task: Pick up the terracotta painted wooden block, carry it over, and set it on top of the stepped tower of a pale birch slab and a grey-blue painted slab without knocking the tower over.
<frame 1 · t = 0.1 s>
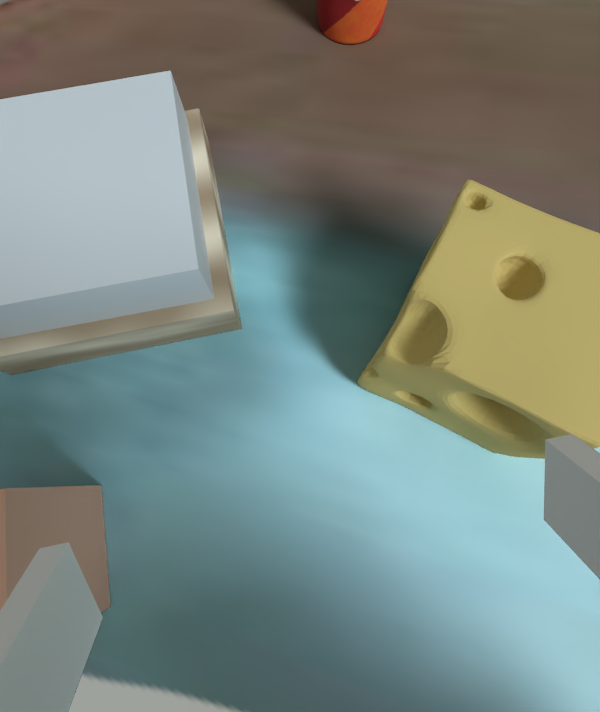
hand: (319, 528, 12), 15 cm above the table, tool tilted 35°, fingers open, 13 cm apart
terracotta block: (49, 555, 26), on the table
tower top: (96, 223, 29), point 3 cm above the table, touching tower base
cheese: (457, 356, 29), on the table
tower base: (121, 254, 32), on the table, touching tower top
paper cup: (350, 22, 38), on the table
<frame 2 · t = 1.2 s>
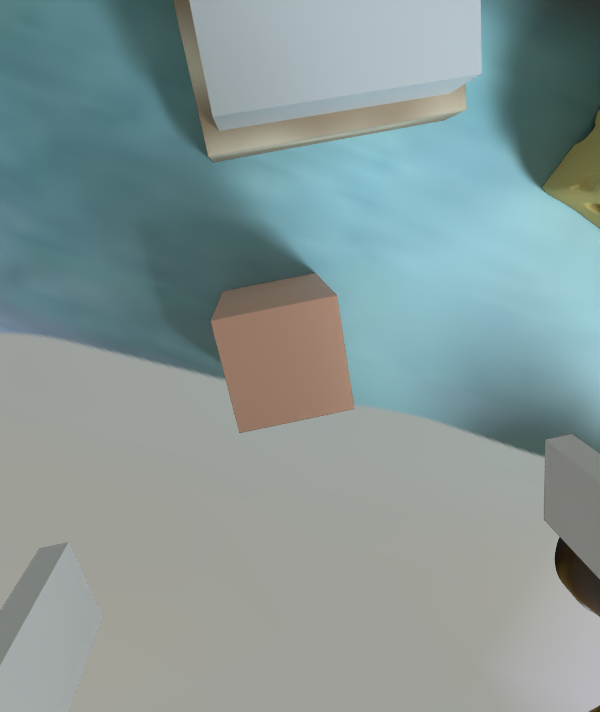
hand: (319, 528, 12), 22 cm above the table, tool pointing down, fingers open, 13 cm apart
terracotta block: (278, 326, 33), on the table
tower base: (309, 4, 27), on the table, touching tower top
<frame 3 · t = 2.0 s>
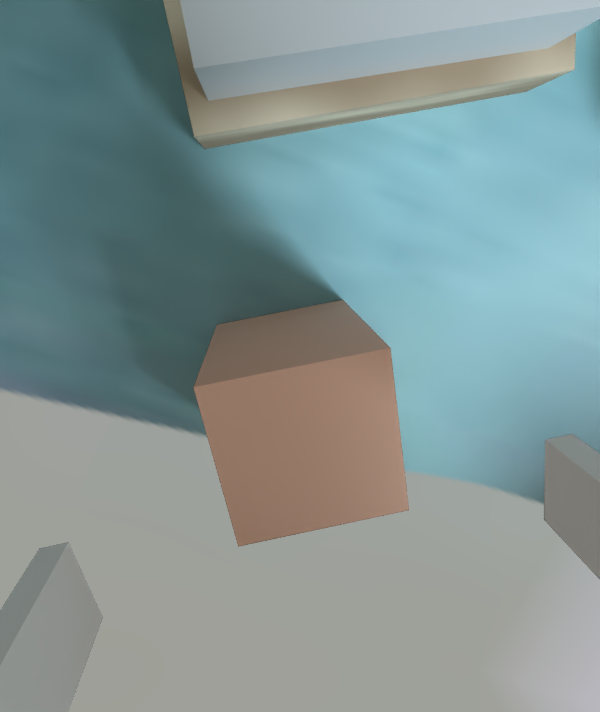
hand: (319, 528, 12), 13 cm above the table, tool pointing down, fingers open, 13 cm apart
terracotta block: (291, 370, 25), on the table
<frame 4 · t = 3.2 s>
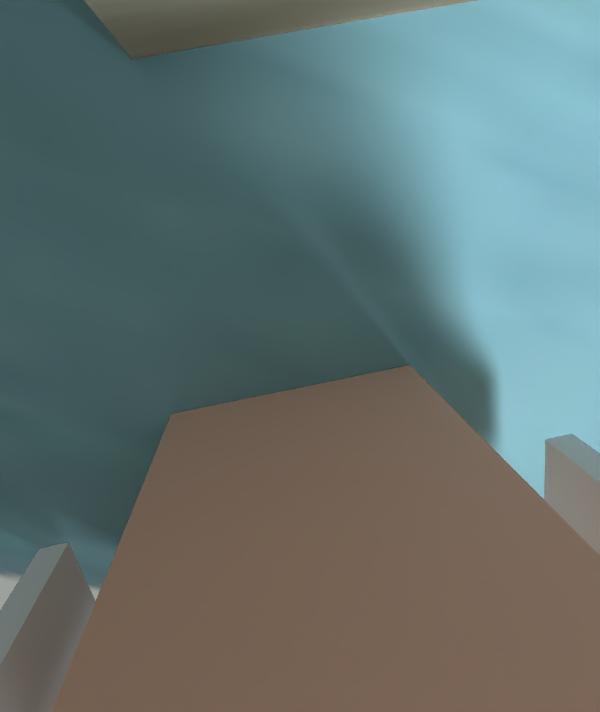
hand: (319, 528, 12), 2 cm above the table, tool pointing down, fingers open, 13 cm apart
terracotta block: (311, 488, 14), on the table
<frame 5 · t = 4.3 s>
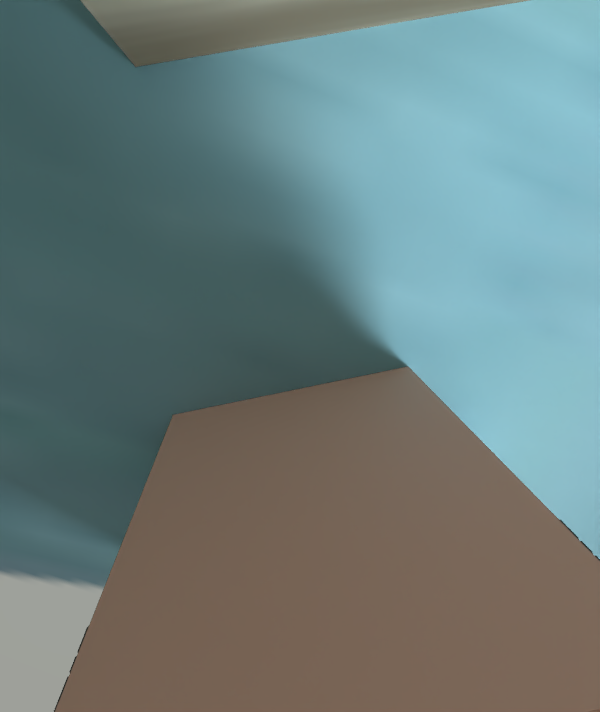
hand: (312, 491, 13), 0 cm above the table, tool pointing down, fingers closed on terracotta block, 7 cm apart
terracotta block: (311, 489, 14), on the table, touching gripper
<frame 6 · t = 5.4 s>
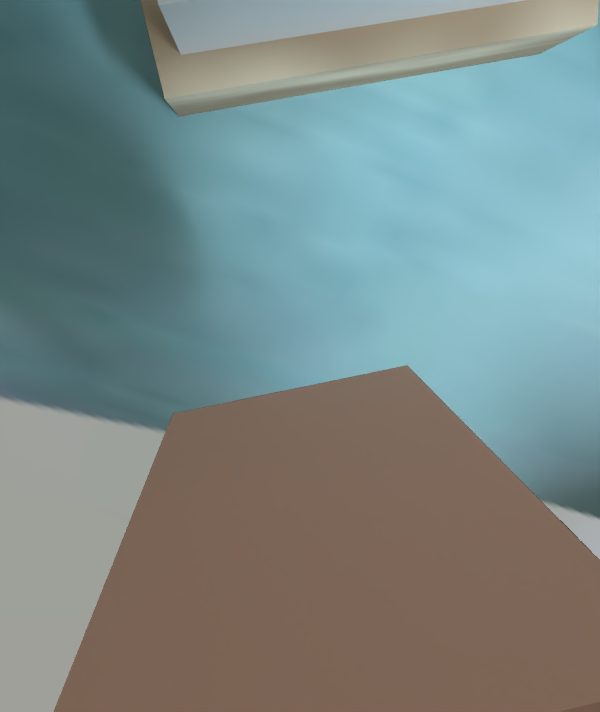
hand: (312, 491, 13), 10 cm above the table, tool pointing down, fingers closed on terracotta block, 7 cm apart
terracotta block: (311, 487, 14), point 10 cm above the table, touching gripper
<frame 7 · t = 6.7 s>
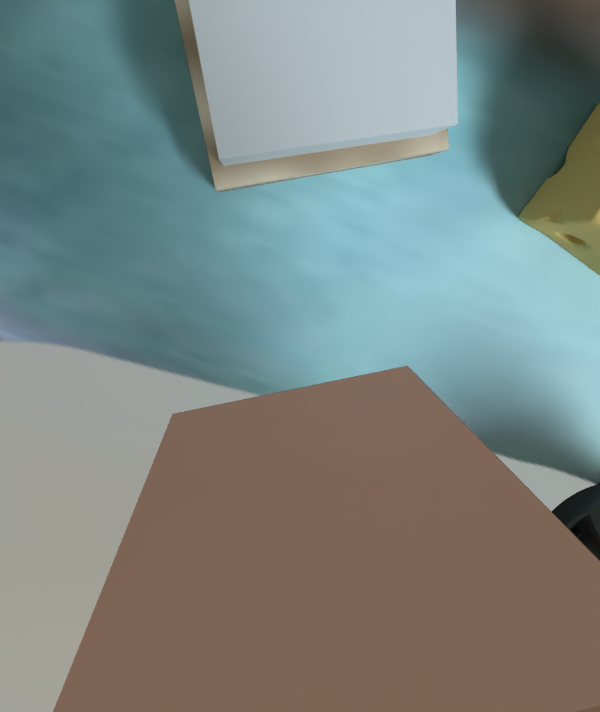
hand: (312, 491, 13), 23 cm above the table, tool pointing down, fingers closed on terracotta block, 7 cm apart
terracotta block: (311, 488, 14), point 23 cm above the table, touching gripper
tower top: (314, 24, 26), point 3 cm above the table
cheese: (598, 193, 35), on the table
tower base: (307, 51, 30), on the table
when the fingers open (9 cm above the table, at t = 11.3 s): terracotta block drops 1 cm, point 7 cm above the table.
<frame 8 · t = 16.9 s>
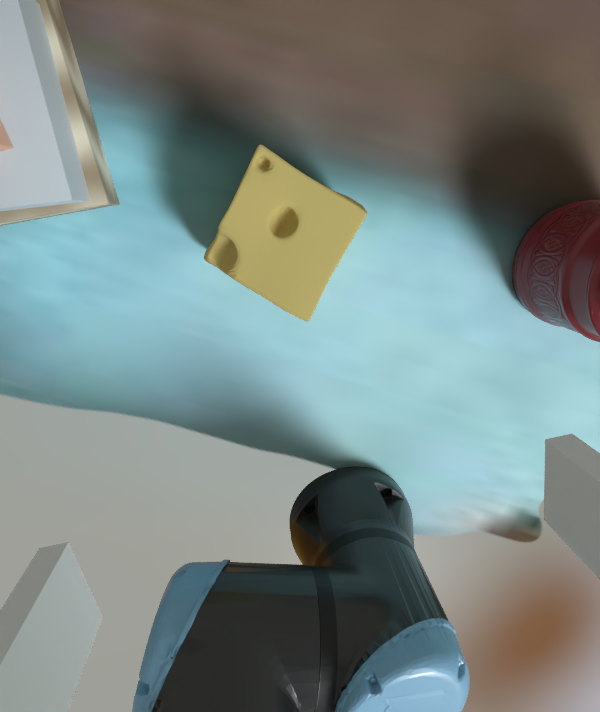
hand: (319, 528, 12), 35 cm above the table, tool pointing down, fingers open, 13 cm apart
canister: (564, 263, 47), on the table
cheese: (278, 230, 43), on the table
tower base: (3, 126, 38), on the table, touching tower top
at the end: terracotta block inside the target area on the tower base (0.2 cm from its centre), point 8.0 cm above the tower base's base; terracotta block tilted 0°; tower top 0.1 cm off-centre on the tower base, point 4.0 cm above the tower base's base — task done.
